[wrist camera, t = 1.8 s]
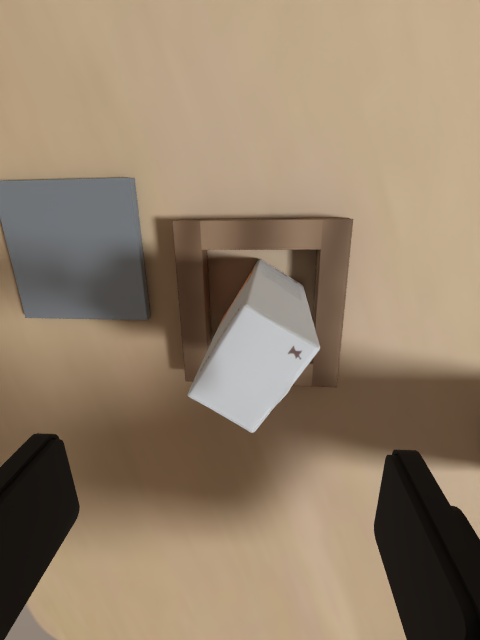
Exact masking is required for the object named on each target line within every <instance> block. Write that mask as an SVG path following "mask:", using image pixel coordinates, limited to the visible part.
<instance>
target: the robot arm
mask: <svg viewBox="0 0 480 640" xmlns="http://www.w3.org/2000/svg"><path fill="white" fill-rule="evenodd" d="M78 514H79V502H78V498H77V494H76V490H75V486H74V482H73V478H72V474H71V470H70V466H69V462H68V458H67V454H66V450H65V446H64V443H63V441H62V440H60V439H59V437H58V436H57V435H55V434H38V433H37V434H34V435H32V436H31V437H30V438H29V439H28V440H27V441H26V442H25V443H24V444H23V445H22V446H21V447H20V448H19V449H18V450H17V451H16V452H15V453H14V454H13V455H12V456H11V457H10V458H9V459H8V460H7V461H6V462H5V463H4V464H3V465H2V466H1V467H0V640H4V639H5V637H6V636H7V634H8V632H9V631H10V629H11V627H12V626H13V624H14V622H15V621H16V619H17V617H18V616H19V614H20V612H21V611H22V609H23V607H24V606H25V604H26V602H27V601H28V599H29V597H30V596H31V594H32V592H33V591H34V589H35V587H36V586H37V584H38V582H39V581H40V579H41V577H42V576H43V574H44V572H45V571H46V569H47V567H48V566H49V564H50V562H51V561H52V559H53V557H54V556H55V554H56V552H57V551H58V549H59V547H60V546H61V544H62V542H63V541H64V539H65V537H66V536H67V534H68V532H69V531H70V529H71V527H72V526H73V524H74V522H75V521H76V519H77V517H78ZM374 533H375V539H376V542H377V545H378V549H379V552H380V555H381V558H382V561H383V565H384V568H385V571H386V574H387V577H388V581H389V584H390V587H391V590H392V594H393V597H394V600H395V603H396V606H397V610H398V613H399V616H400V619H401V622H402V626H403V629H404V632H405V635H406V638H407V640H480V539H479V538H478V536H477V534H476V533H475V531H474V530H473V528H472V526H471V525H470V523H469V521H468V520H467V518H466V517H465V515H464V514H463V513H462V511H461V510H460V509H459V508H457V507H455V506H450V504H449V502H448V501H447V499H446V497H445V496H444V494H443V492H442V490H441V489H440V487H439V485H438V484H437V482H436V480H435V479H434V477H433V475H432V473H431V472H430V470H429V468H428V467H427V465H426V463H425V462H424V460H423V458H422V456H421V455H420V453H419V452H418V451H415V450H394V451H393V453H392V455H387V456H386V459H385V465H384V470H383V476H382V482H381V487H380V493H379V499H378V505H377V510H376V516H375V522H374Z"/></svg>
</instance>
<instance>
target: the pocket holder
mask: <svg viewBox="0 0 480 640" xmlns="http://www.w3.org/2000/svg"><path fill="white" fill-rule="evenodd" d="M172 222H173V234H174V246H175V258H176V270H177V282H178V294H179V306H180V318H181V330H182V342H183V355H184V367H185V379H186V381H194V378H195V376H196V374H197V372H198V370H199V368H200V365H201V363H202V361H203V359H204V357H205V355H206V352H207V350H208V348H209V346H210V344H211V342H212V337H211V317H210V296H209V276H208V256H207V250H298V249H317V261H316V276H315V292H314V308H313V323H314V327H315V331H316V334H317V338H318V341H319V345H320V350H319V351H318V353H317V354H316V355H315V356H314V358H313V359H312V360H311V362H310V363H309V364H308V365H307V367H306V368H305V369H304V371H303V372H302V373H301V375H300V376H299V377H298V378H297V380H296V381H295V382H294V384H293V385H295V386H321V387H337V380H338V370H339V359H340V349H341V339H342V329H343V318H344V308H345V298H346V287H347V277H348V267H349V257H350V246H351V236H352V226H353V219H350V218H290V219H202V220H176V221H172Z"/></svg>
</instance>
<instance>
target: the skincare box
mask: <svg viewBox="0 0 480 640" xmlns="http://www.w3.org/2000/svg"><path fill="white" fill-rule="evenodd" d="M319 350H320V345H319V341H318V338H317V334H316V331H315V327H314V323H313V320H312V316H311V312H310V309H309V305H308V302H307V298H306V294H305V291H304V287H303V285H302V284H300V283H299V282H297V281H295V280H294V279H292V278H291V277H289V276H288V275H286V274H284V273H283V272H281V271H279V270H278V269H276V268H274V267H273V266H271V265H269V264H268V263H266V262H265V261H263V260H262V259H259V260H258V261H257V263H256V265H255V266H254V268H253V270H252V271H251V273H250V275H249V276H248V278H247V279H246V281H245V283H244V284H243V286H242V288H241V289H240V291H239V292H238V294H237V296H236V297H235V299H234V301H233V302H232V304H231V305H230V307H229V309H228V310H227V312H226V313H225V315H224V316H223V318H222V320H221V322H220V325H219V327H218V329H217V331H216V333H215V335H214V337H213V340H212V342H211V344H210V346H209V348H208V350H207V352H206V355H205V357H204V359H203V361H202V363H201V365H200V368H199V370H198V372H197V374H196V376H195V378H194V381H193V383H192V385H191V387H190V389H189V392H188V394H187V395H188V397H190V398H192V399H193V400H195V401H197V402H199V403H201V404H202V405H204V406H206V407H208V408H210V409H211V410H213V411H215V412H217V413H218V414H220V415H222V416H223V417H225V418H227V419H228V420H230V421H232V422H234V423H235V424H237V425H239V426H240V427H242V428H244V429H245V430H247V431H248V432H250V433H254V432H255V431H256V430H257V429H258V427H259V426H260V425H261V424H262V422H263V421H264V420H265V418H266V417H267V416H268V415H269V414H270V412H271V411H272V410H273V408H274V407H275V406H276V405H277V404H278V403H279V402H280V401H281V400H282V399H283V398H284V397H285V395H286V394H287V393H288V392H289V390H290V388H291V387H292V385H293V384H294V382H295V381H296V380H297V378H298V377H299V376H300V375H301V373H302V372H303V371H304V369H305V368H306V367H307V365H308V364H309V363H310V362H311V360H312V359H313V358H314V356H315V355H316V354H317V353H318V351H319Z"/></svg>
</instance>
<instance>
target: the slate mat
mask: <svg viewBox="0 0 480 640" xmlns="http://www.w3.org/2000/svg"><path fill="white" fill-rule="evenodd" d="M0 219H1V223H2V227H3V231H4V235H5V239H6V243H7V247H8V251H9V255H10V259H11V263H12V267H13V271H14V275H15V279H16V282H17V286H18V290H19V294H20V298H21V302H22V306H23V310H24V314H25V318H63V319H112V320H148V319H149V318H150V317H151V316H150V308H149V299H148V290H147V282H146V273H145V265H144V256H143V247H142V239H141V230H140V221H139V213H138V204H137V195H136V187H135V178H97V179H57V180H17V181H0Z"/></svg>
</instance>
